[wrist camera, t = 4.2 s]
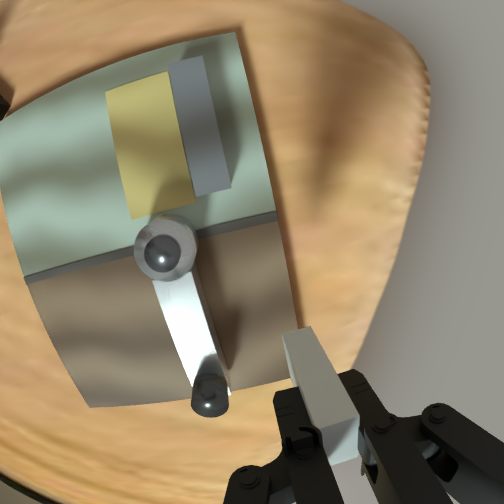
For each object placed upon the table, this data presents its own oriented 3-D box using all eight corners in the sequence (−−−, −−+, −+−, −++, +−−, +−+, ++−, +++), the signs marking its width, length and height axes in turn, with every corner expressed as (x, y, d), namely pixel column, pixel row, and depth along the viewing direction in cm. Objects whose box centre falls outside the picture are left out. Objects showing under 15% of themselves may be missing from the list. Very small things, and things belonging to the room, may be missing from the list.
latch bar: (137, 221, 18) (114, 236, 14) (190, 207, 18) (181, 218, 14) (192, 381, 22) (189, 420, 17) (237, 373, 22) (241, 412, 17)
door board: (2, 127, 16) (-27, 124, 12) (234, 40, 17) (237, 14, 13) (94, 397, 23) (81, 425, 20) (301, 363, 24) (313, 392, 20)
